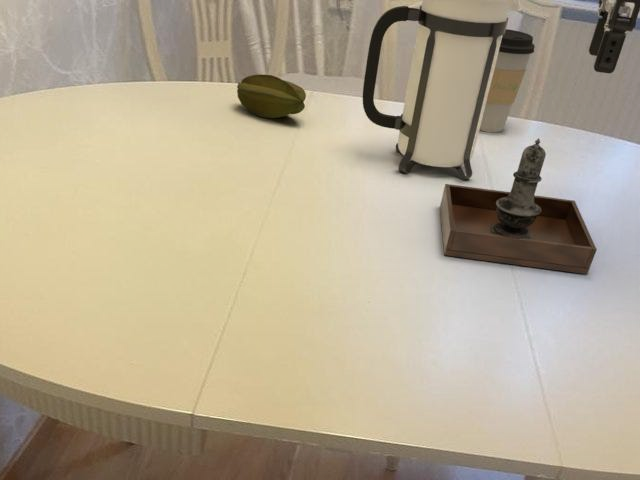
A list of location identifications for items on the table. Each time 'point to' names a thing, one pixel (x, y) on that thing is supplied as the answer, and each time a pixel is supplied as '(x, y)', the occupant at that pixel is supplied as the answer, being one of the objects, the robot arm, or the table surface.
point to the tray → (539, 251)
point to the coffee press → (442, 79)
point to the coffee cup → (506, 78)
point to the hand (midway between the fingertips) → (599, 63)
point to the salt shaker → (521, 196)
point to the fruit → (270, 96)
